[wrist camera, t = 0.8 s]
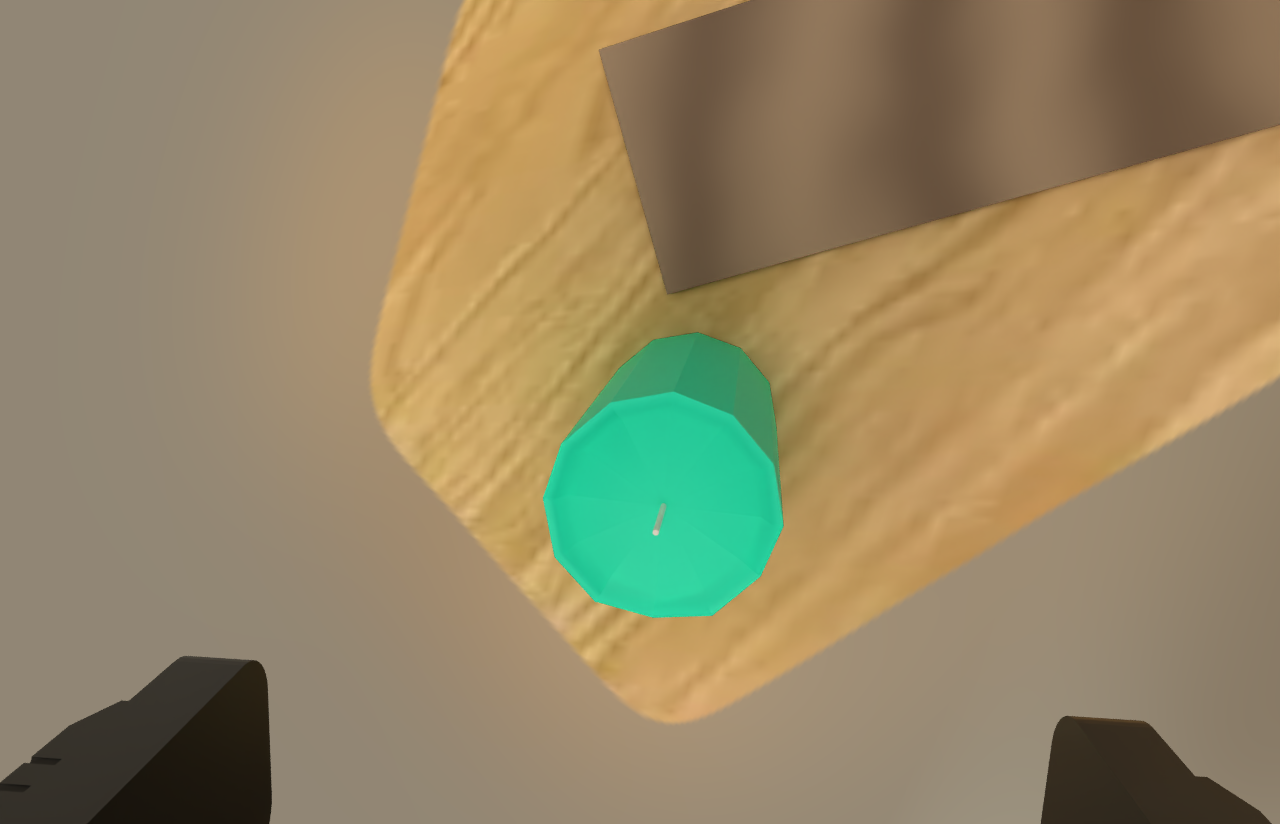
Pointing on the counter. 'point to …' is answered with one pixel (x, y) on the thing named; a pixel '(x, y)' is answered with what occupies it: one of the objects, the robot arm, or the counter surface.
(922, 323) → the counter surface
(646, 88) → the board
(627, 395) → the candle
